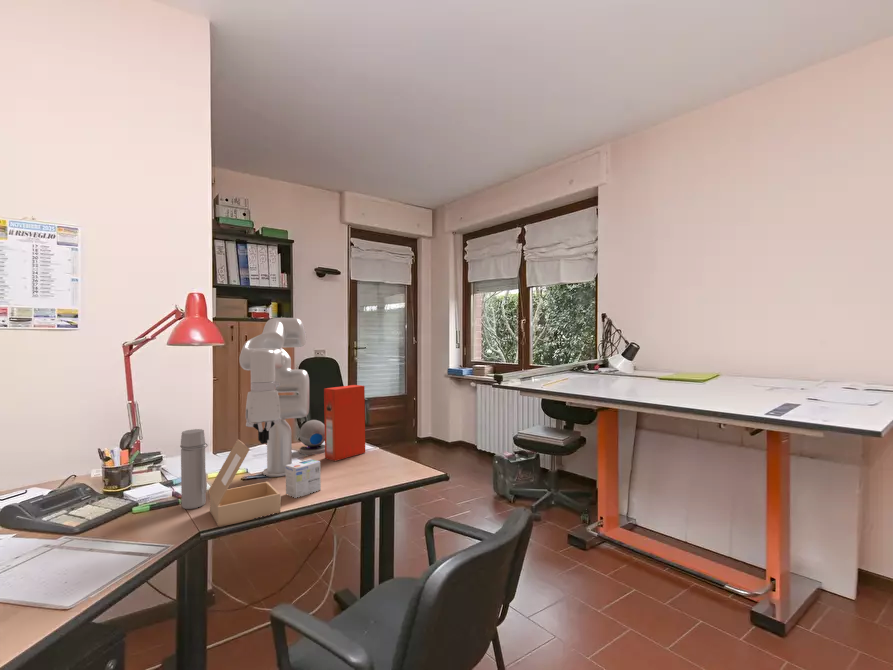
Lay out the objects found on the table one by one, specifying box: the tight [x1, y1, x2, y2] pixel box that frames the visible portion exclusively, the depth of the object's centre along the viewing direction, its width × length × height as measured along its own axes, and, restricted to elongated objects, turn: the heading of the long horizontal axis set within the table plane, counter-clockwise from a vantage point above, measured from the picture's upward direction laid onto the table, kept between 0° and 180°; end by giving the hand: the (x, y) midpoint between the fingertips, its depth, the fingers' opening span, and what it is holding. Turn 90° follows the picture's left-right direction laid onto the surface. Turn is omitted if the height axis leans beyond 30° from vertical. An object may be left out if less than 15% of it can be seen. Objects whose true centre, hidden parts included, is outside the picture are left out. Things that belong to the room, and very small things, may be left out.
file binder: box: [323, 384, 366, 462], centre depth 210 cm, size 8×17×32 cm, turn 141°
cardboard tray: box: [209, 481, 282, 528], centre depth 145 cm, size 15×18×6 cm
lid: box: [207, 438, 251, 506], centre depth 142 cm, size 15×18×1 cm
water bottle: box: [180, 428, 208, 510], centre depth 150 cm, size 9×8×25 cm
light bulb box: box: [285, 458, 322, 499], centre depth 163 cm, size 11×7×11 cm, turn 141°
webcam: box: [298, 419, 325, 455], centre depth 219 cm, size 13×13×15 cm
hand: (263, 442), depth 148 cm, fingers closed
